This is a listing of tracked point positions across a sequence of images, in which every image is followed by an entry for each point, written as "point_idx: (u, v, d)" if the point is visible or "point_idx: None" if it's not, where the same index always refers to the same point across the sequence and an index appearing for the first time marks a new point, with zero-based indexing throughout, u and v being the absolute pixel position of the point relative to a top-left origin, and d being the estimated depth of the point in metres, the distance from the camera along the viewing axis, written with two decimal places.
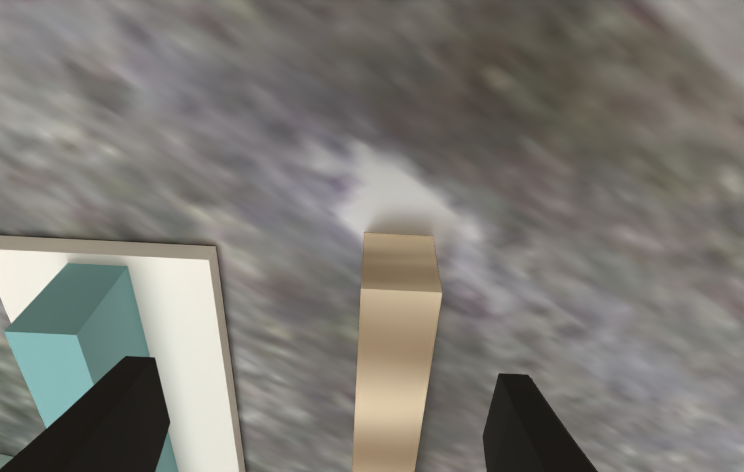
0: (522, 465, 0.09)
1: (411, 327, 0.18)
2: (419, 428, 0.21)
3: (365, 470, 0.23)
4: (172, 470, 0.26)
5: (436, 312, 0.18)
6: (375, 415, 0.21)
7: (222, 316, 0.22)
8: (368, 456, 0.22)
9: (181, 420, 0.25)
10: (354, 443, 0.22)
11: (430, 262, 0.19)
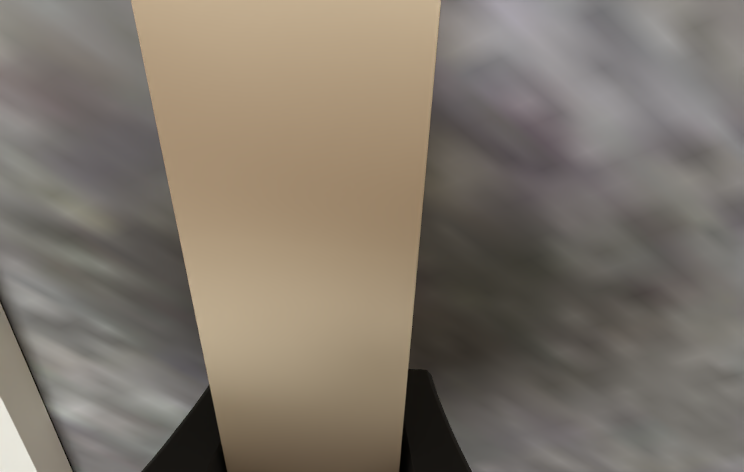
0: (404, 461, 0.09)
1: (340, 77, 0.05)
2: (396, 443, 0.08)
3: None
4: None
5: None
6: (270, 410, 0.07)
7: None
8: None
9: None
10: None
11: None
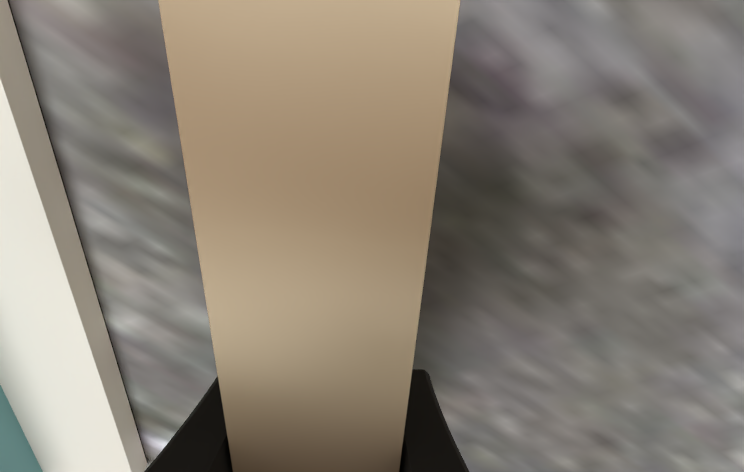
0: (401, 460, 0.09)
1: (358, 71, 0.05)
2: (399, 433, 0.08)
3: None
4: None
5: None
6: (277, 398, 0.08)
7: (30, 105, 0.12)
8: None
9: None
10: (235, 470, 0.09)
11: None
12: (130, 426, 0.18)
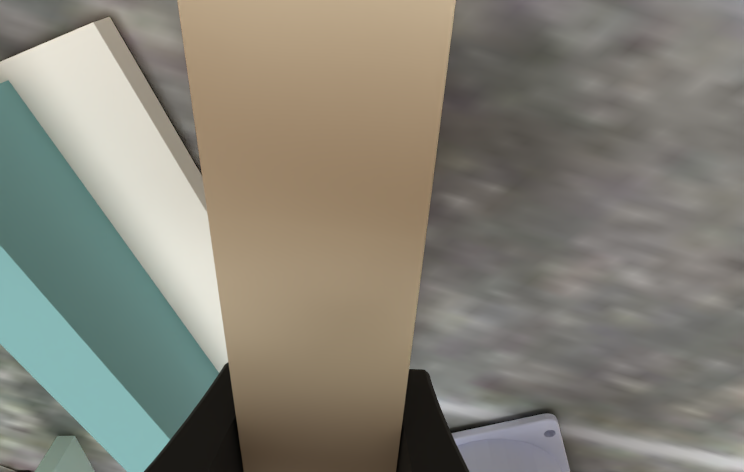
0: (401, 461, 0.09)
1: (360, 76, 0.05)
2: (398, 415, 0.08)
3: None
4: None
5: (445, 4, 0.05)
6: (283, 381, 0.08)
7: (169, 129, 0.16)
8: None
9: (194, 308, 0.19)
10: (243, 452, 0.09)
11: None
12: None
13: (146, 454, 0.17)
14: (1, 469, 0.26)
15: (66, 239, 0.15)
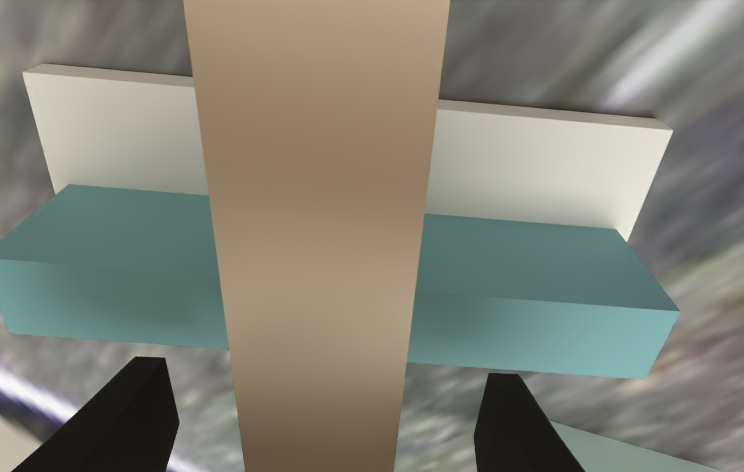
0: (510, 465, 0.09)
1: (359, 73, 0.06)
2: (396, 407, 0.09)
3: None
4: (484, 226, 0.15)
5: (440, 3, 0.05)
6: (283, 373, 0.08)
7: (162, 77, 0.14)
8: None
9: None
10: (244, 444, 0.09)
11: None
12: (572, 113, 0.15)
13: (470, 332, 0.13)
14: None
15: (193, 230, 0.14)
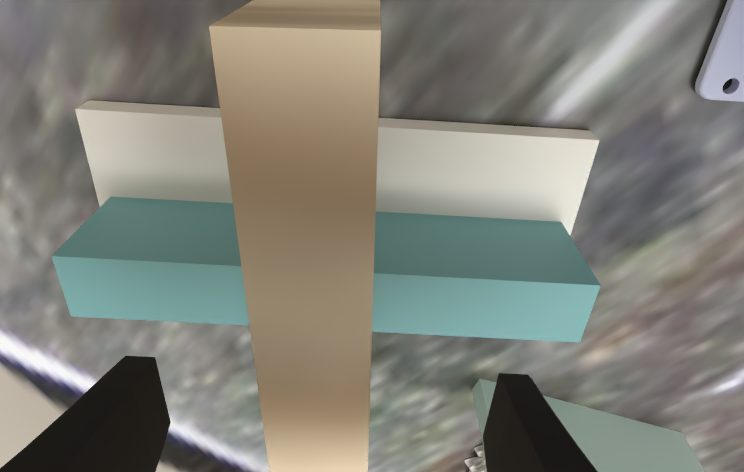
0: (522, 465, 0.09)
1: (327, 126, 0.09)
2: (368, 353, 0.12)
3: (287, 434, 0.14)
4: (450, 222, 0.19)
5: (373, 85, 0.09)
6: (286, 329, 0.12)
7: (185, 109, 0.18)
8: (286, 407, 0.13)
9: None
10: (259, 384, 0.13)
11: (367, 13, 0.10)
12: (518, 128, 0.18)
13: (436, 306, 0.16)
14: (482, 448, 0.28)
15: (214, 231, 0.17)
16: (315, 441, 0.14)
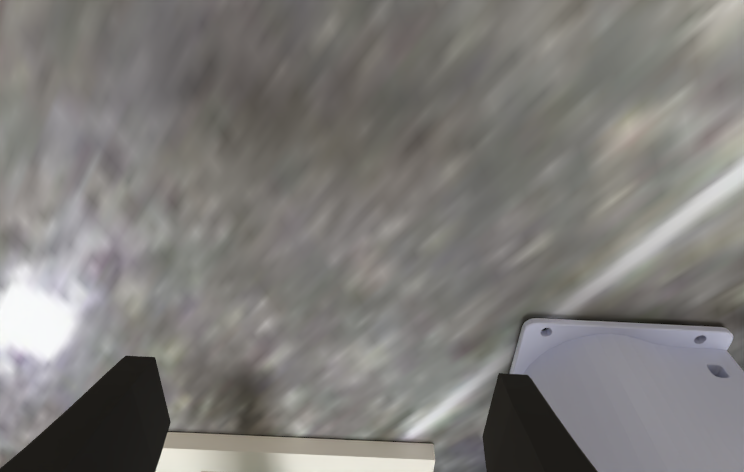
0: (522, 466, 0.09)
1: None
2: None
3: None
4: None
5: None
6: None
7: (167, 437, 0.27)
8: None
9: None
10: None
11: None
12: (385, 445, 0.28)
13: None
14: None
15: None
16: None
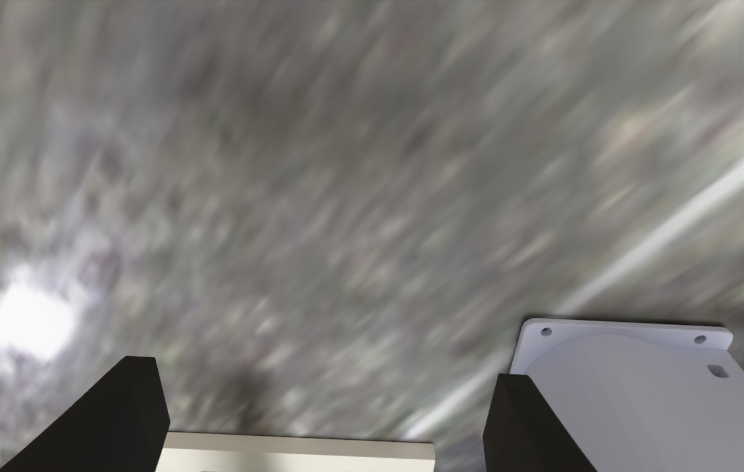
0: (522, 466, 0.09)
1: None
2: None
3: None
4: None
5: None
6: None
7: (167, 437, 0.27)
8: None
9: None
10: None
11: None
12: (385, 445, 0.28)
13: None
14: None
15: None
16: None
